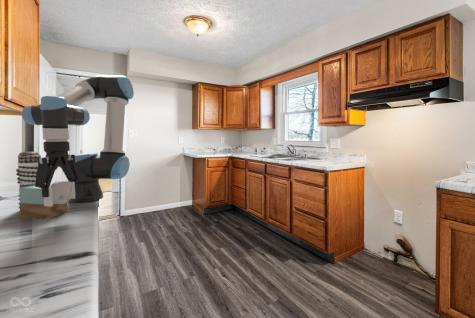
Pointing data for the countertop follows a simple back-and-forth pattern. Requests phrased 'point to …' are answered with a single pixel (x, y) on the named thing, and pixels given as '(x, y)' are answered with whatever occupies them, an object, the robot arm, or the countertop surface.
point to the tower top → (31, 195)
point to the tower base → (41, 210)
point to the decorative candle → (27, 169)
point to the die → (61, 192)
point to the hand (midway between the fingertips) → (60, 202)
